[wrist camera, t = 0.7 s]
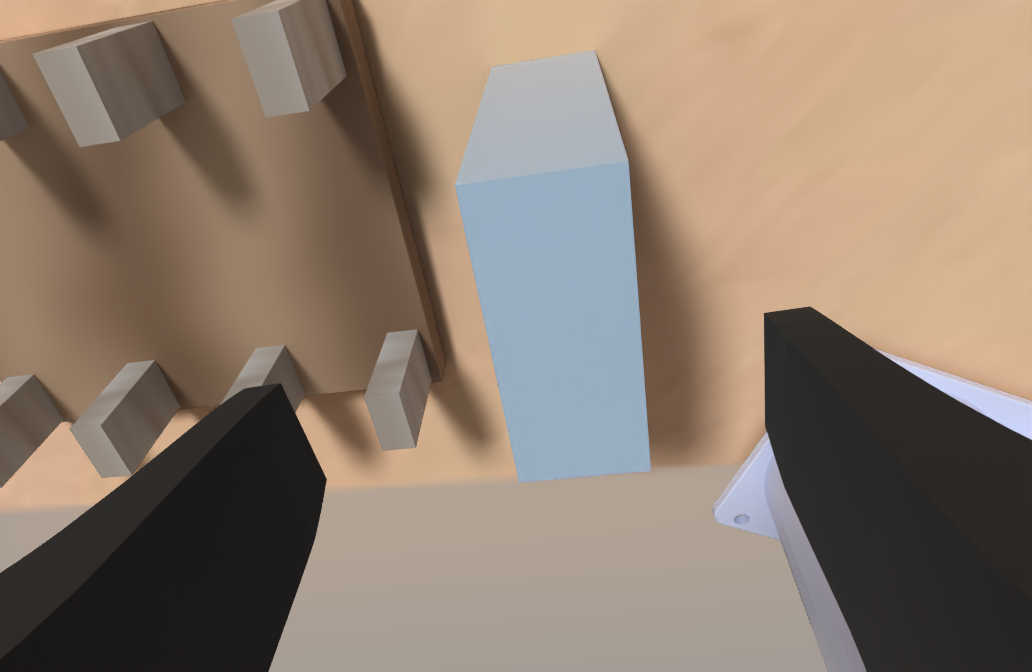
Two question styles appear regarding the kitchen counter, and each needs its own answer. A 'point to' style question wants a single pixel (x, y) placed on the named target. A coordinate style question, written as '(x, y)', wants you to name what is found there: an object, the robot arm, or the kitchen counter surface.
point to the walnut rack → (201, 228)
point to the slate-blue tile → (557, 268)
